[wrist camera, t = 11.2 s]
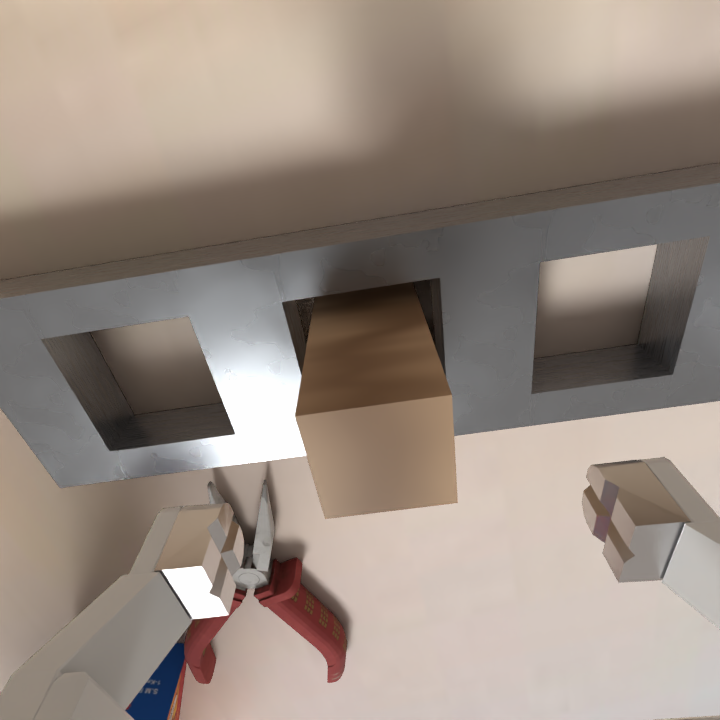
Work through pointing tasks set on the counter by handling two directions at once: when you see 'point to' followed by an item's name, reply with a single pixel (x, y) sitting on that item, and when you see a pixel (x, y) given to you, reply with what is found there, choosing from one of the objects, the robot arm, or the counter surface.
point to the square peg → (375, 405)
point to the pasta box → (162, 689)
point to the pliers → (269, 601)
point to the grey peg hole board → (357, 272)
